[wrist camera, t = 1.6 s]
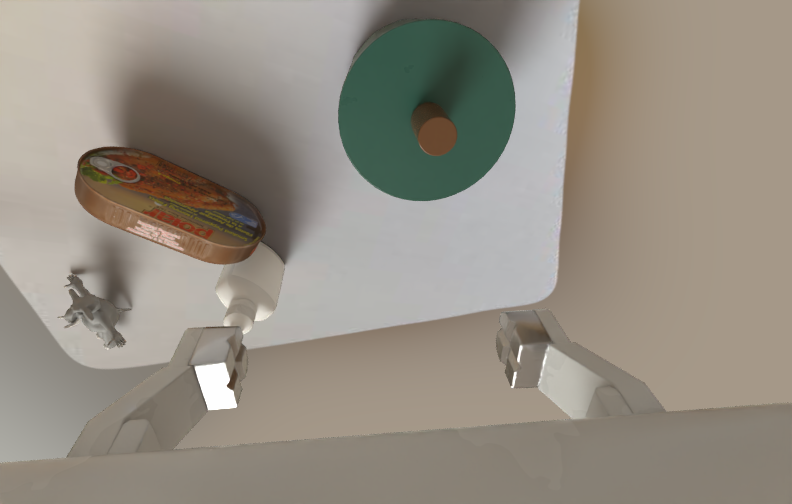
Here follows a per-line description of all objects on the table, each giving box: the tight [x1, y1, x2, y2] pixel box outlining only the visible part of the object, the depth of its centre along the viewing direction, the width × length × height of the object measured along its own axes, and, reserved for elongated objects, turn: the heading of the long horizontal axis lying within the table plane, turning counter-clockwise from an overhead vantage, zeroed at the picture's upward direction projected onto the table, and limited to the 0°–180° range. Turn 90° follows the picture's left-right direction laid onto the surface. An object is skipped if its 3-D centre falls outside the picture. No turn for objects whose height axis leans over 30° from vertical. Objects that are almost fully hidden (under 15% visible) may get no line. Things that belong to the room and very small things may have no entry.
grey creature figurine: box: [58, 274, 131, 349], centre depth 45 cm, size 10×6×9 cm
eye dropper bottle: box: [215, 242, 285, 334], centre depth 40 cm, size 4×6×12 cm
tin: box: [75, 147, 266, 265], centre depth 37 cm, size 15×3×8 cm, turn 58°
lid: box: [338, 19, 515, 201], centre depth 30 cm, size 13×13×5 cm
